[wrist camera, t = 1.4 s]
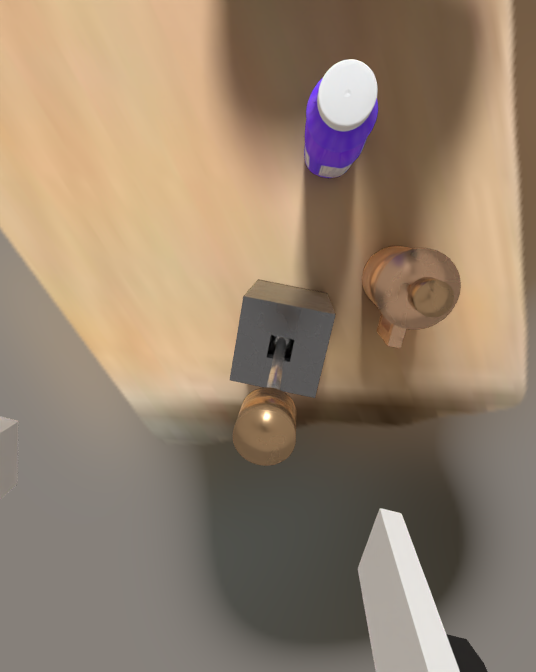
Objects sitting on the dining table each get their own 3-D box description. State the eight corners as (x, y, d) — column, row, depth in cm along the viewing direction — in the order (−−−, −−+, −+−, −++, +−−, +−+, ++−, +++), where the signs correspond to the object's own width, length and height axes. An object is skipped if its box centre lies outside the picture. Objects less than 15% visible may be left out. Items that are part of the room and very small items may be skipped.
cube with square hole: (258, 279, 46) (243, 295, 35) (327, 293, 46) (335, 314, 35) (243, 365, 50) (225, 406, 38) (307, 379, 50) (308, 424, 38)
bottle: (347, 184, 42) (376, 155, 26) (299, 176, 42) (297, 142, 26) (362, 115, 40) (405, 33, 23) (311, 106, 40) (318, 20, 24)
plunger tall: (256, 303, 38) (213, 371, 20) (320, 316, 38) (337, 397, 19) (245, 363, 40) (198, 475, 22) (306, 375, 40) (310, 499, 21)
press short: (369, 238, 44) (401, 242, 30) (435, 251, 43) (499, 261, 29) (348, 321, 47) (368, 360, 33) (409, 334, 46) (455, 378, 33)
